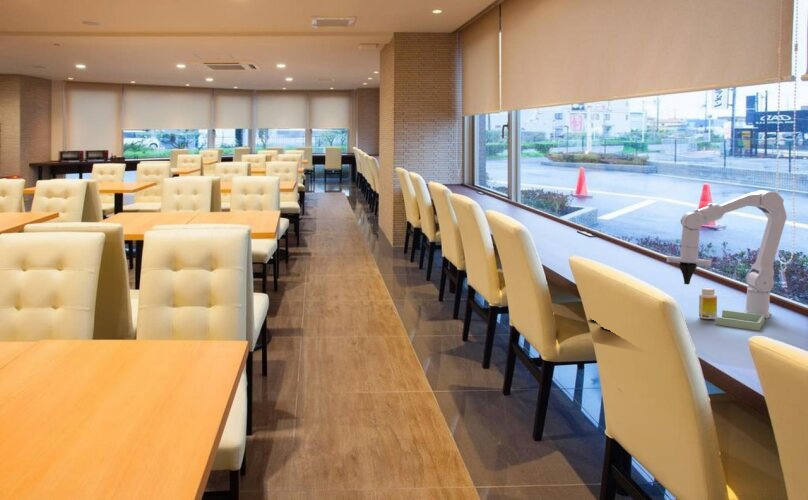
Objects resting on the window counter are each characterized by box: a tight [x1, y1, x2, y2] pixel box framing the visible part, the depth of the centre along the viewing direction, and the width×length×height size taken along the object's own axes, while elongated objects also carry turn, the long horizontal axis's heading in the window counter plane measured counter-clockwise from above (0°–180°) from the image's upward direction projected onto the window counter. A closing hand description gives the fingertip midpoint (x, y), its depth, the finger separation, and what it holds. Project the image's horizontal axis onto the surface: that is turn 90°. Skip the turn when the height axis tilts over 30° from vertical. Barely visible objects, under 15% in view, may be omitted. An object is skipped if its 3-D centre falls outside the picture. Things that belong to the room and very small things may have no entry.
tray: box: [714, 309, 766, 332], centre depth 220 cm, size 13×13×2 cm
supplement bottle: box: [698, 287, 718, 320], centre depth 226 cm, size 6×6×10 cm
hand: (686, 283), depth 233 cm, fingers closed
